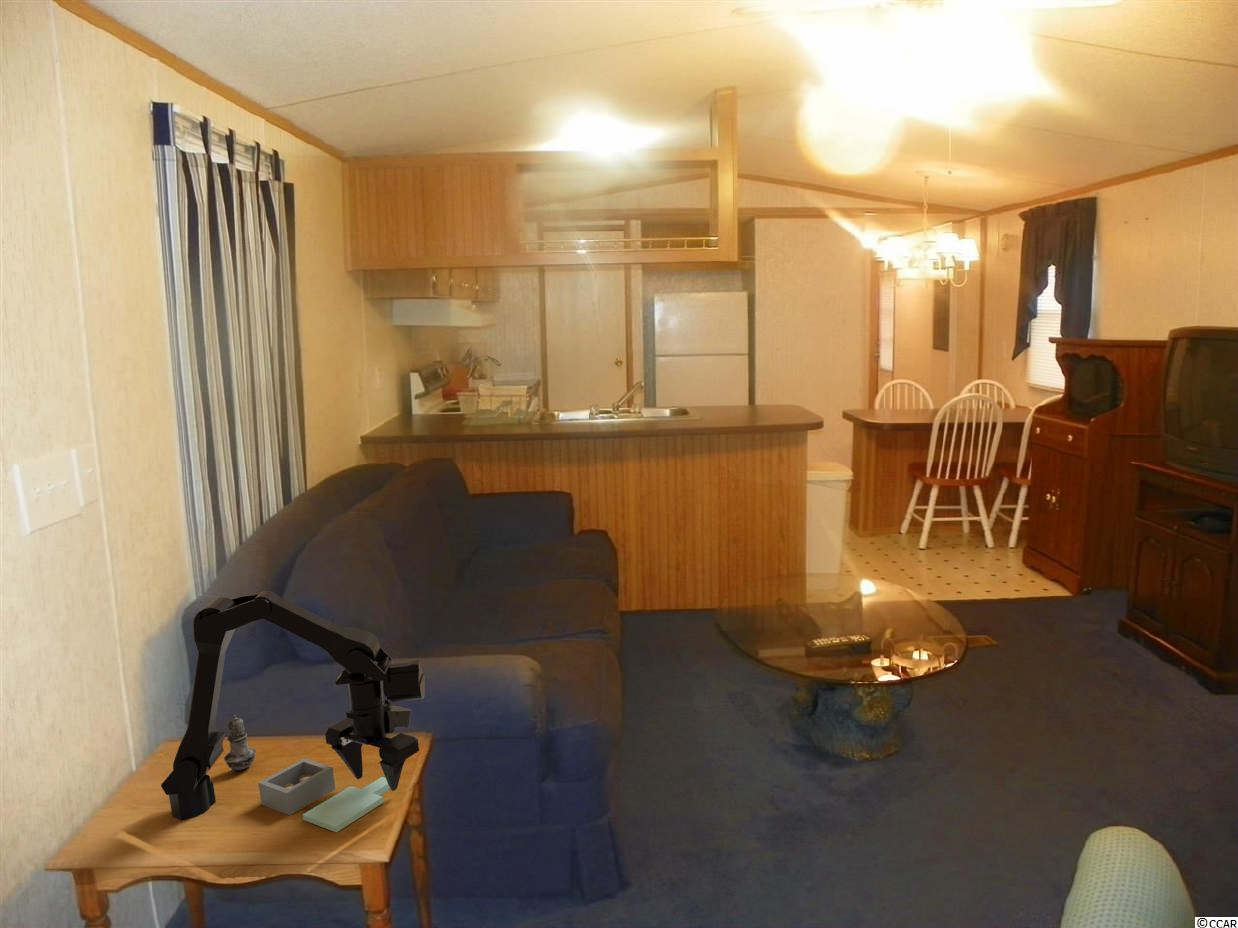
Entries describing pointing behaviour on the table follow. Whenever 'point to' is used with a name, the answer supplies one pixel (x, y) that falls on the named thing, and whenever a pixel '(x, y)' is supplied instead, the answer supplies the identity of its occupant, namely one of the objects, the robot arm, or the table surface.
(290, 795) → the tub
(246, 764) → the grey upright turned figure
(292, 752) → the table surface
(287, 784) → the part
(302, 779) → the part
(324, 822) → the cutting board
